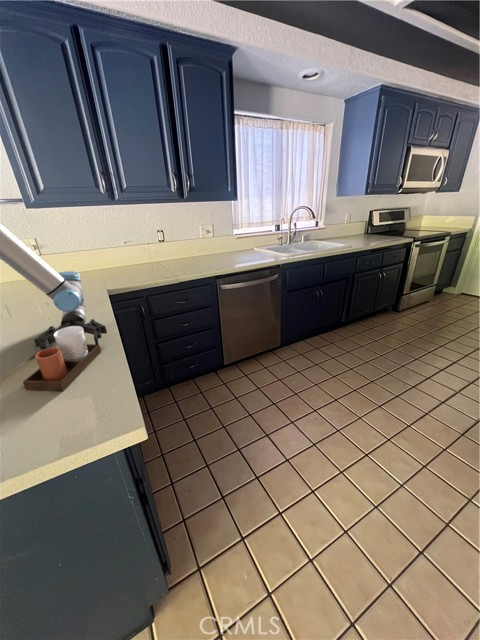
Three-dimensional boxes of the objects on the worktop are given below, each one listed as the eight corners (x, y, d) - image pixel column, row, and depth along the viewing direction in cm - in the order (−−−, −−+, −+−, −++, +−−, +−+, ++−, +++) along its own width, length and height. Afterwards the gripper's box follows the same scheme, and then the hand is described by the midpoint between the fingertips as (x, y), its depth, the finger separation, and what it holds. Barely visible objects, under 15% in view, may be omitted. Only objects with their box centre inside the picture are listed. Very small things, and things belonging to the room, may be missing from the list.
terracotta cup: (40, 385, 74) (29, 358, 70) (54, 372, 80) (45, 347, 76) (60, 385, 74) (50, 358, 70) (73, 373, 79) (64, 347, 76)
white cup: (94, 351, 90) (86, 325, 85) (86, 364, 83) (77, 336, 78) (69, 353, 88) (60, 326, 84) (58, 367, 81) (48, 338, 77)
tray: (26, 390, 72) (22, 381, 71) (71, 351, 91) (69, 343, 89) (63, 391, 72) (60, 382, 71) (101, 352, 90) (99, 344, 89)
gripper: (112, 322, 104) (117, 347, 87) (36, 337, 94) (25, 368, 77) (108, 305, 101) (113, 327, 84) (29, 317, 90) (15, 346, 73)
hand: (71, 346), depth 80 cm, fingers open, 13 cm apart
